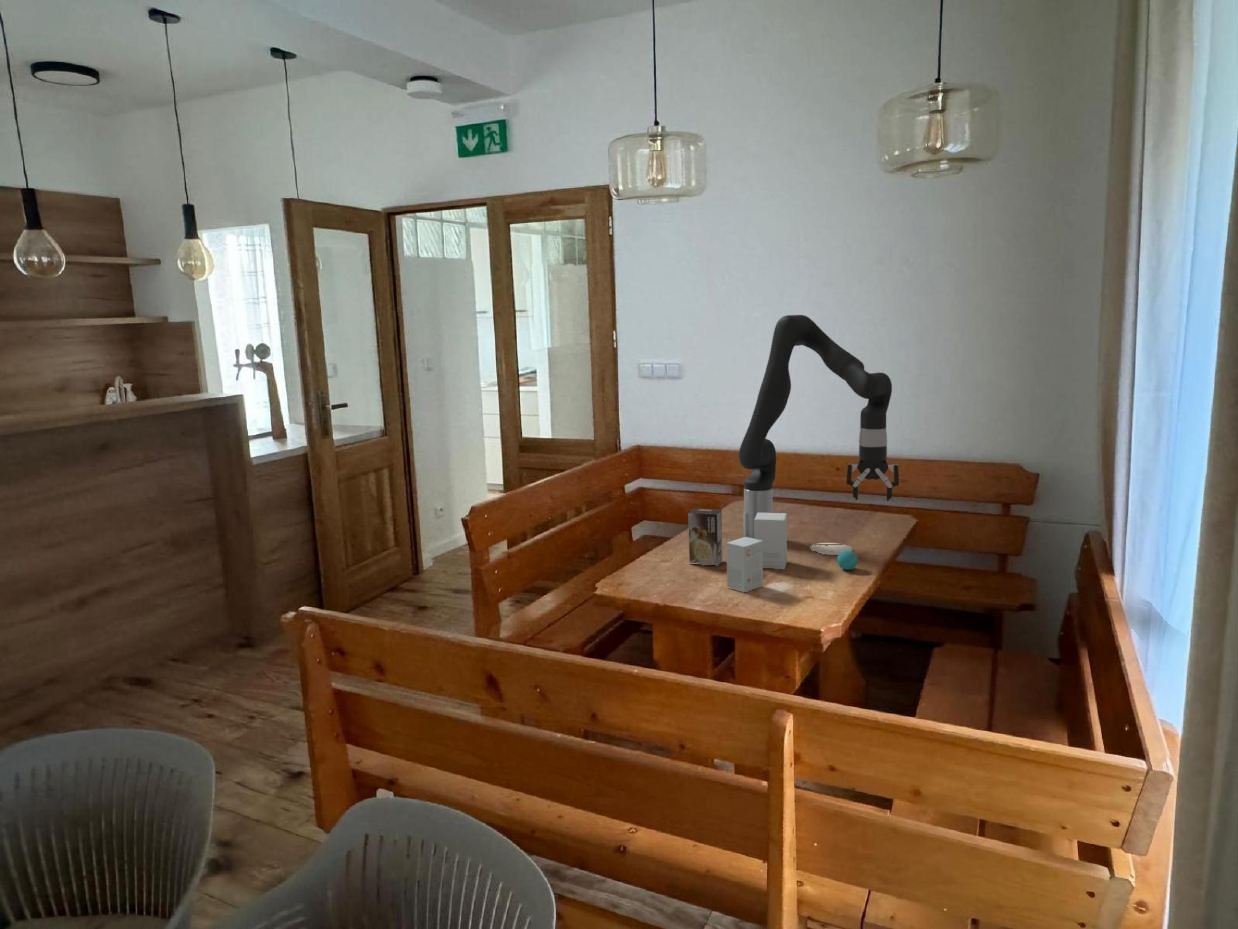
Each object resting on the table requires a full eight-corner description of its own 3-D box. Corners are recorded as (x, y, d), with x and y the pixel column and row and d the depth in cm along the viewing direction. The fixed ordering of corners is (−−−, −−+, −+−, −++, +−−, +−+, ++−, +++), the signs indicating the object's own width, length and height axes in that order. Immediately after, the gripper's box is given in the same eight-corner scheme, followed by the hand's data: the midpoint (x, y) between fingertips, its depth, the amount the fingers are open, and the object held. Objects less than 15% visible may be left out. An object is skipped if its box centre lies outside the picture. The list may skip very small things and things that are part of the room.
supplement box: (787, 561, 245) (787, 512, 242) (785, 570, 236) (785, 520, 234) (757, 559, 247) (757, 511, 245) (753, 568, 239) (753, 518, 236)
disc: (814, 555, 250) (814, 554, 250) (806, 543, 262) (806, 543, 262) (857, 554, 249) (857, 554, 249) (846, 543, 262) (846, 542, 262)
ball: (839, 572, 232) (839, 553, 231) (835, 566, 238) (835, 548, 237) (859, 572, 232) (859, 553, 231) (854, 566, 238) (854, 547, 237)
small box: (745, 581, 227) (744, 536, 225) (763, 586, 223) (763, 540, 221) (726, 588, 222) (726, 542, 220) (744, 593, 217) (744, 546, 215)
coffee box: (723, 561, 247) (722, 509, 244) (718, 567, 241) (718, 514, 238) (693, 558, 250) (693, 507, 247) (688, 564, 244) (687, 512, 241)
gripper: (846, 445, 229) (846, 502, 232) (899, 446, 225) (898, 503, 228) (847, 441, 236) (846, 496, 239) (899, 442, 232) (898, 497, 235)
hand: (872, 499), depth 233 cm, fingers open, 8 cm apart
